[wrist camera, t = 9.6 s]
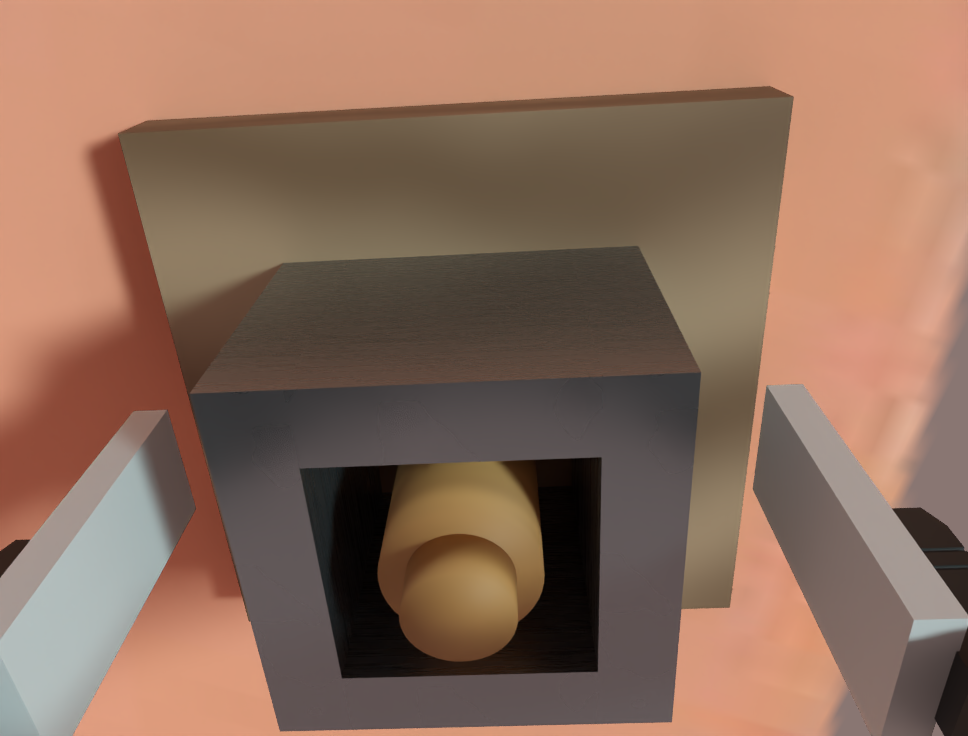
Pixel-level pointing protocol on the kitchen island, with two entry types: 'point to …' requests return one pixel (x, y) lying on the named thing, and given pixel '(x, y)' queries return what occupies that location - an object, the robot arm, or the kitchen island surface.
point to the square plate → (488, 229)
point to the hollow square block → (453, 439)
